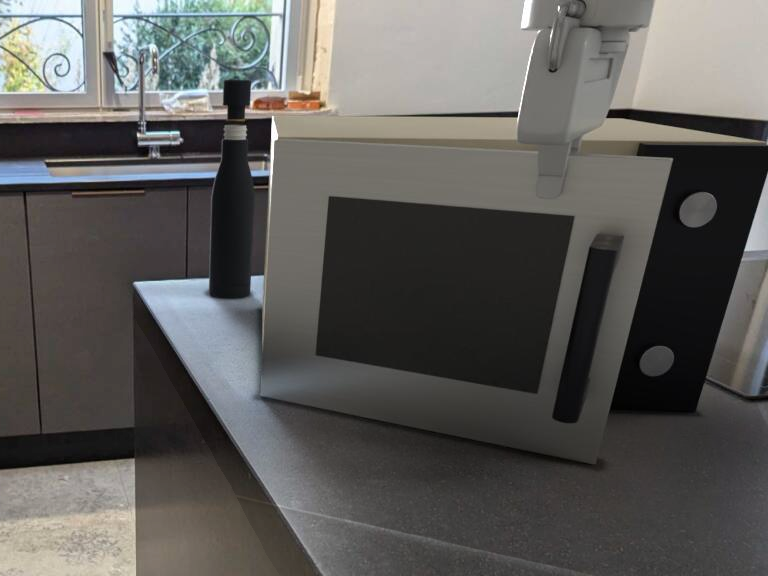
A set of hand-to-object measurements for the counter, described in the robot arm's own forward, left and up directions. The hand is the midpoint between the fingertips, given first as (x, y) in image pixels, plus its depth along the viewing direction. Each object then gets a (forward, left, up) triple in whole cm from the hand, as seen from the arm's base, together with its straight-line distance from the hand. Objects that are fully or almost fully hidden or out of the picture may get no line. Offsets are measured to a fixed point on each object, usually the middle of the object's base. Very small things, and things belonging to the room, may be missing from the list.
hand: (551, 195), depth 68 cm
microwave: (0, -27, -23) cm, 35 cm away
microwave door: (+9, 0, -22) cm, 24 cm away
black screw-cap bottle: (+27, -53, -23) cm, 64 cm away
